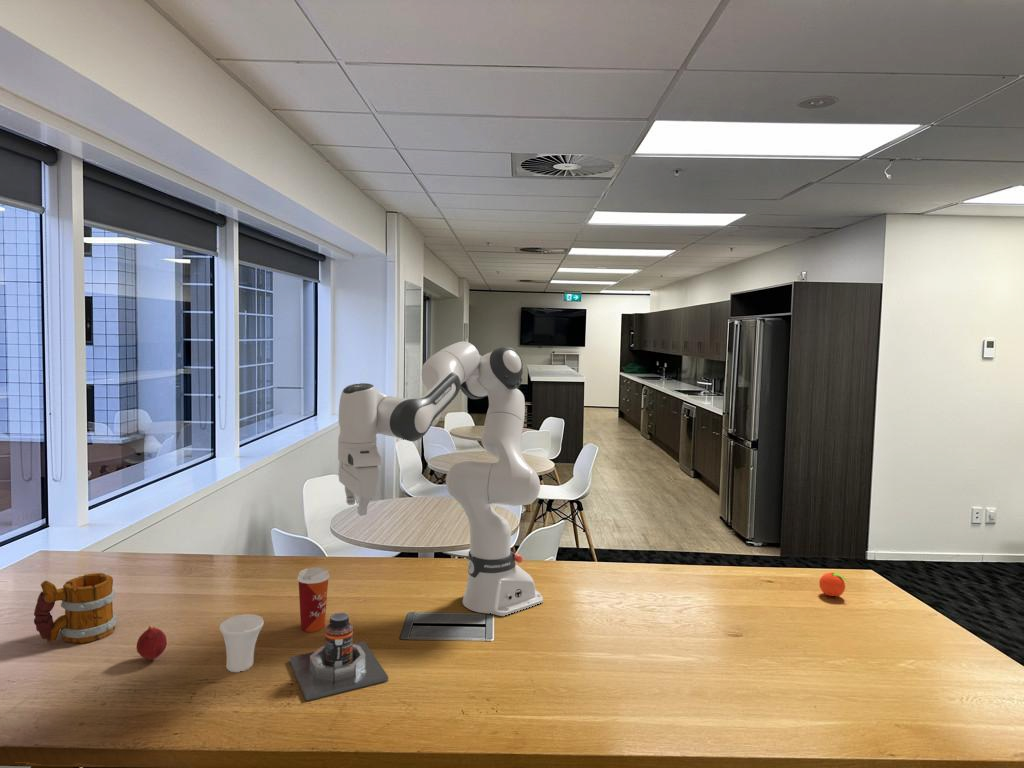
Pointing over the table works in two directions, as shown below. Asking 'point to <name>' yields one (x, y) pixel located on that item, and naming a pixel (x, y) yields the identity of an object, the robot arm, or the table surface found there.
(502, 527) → the robot arm
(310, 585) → the paper cup
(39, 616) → the mug
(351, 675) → the ring collar
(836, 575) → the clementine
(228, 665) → the cup
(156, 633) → the onion
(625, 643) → the table surface
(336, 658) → the supplement bottle
